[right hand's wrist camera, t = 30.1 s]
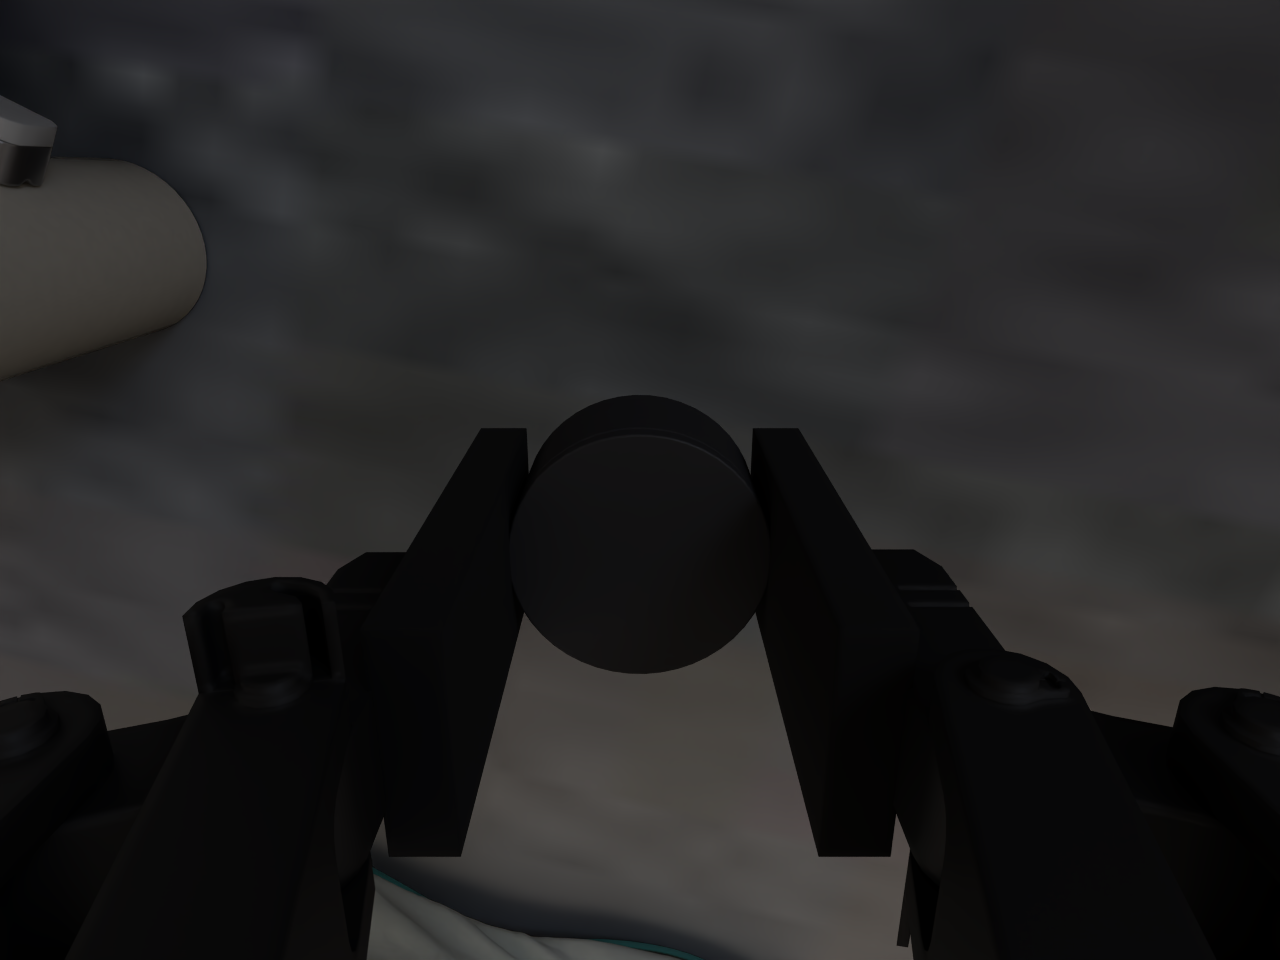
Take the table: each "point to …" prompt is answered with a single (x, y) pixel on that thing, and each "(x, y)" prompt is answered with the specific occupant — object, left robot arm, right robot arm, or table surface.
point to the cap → (639, 537)
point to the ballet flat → (477, 935)
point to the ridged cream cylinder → (92, 261)
